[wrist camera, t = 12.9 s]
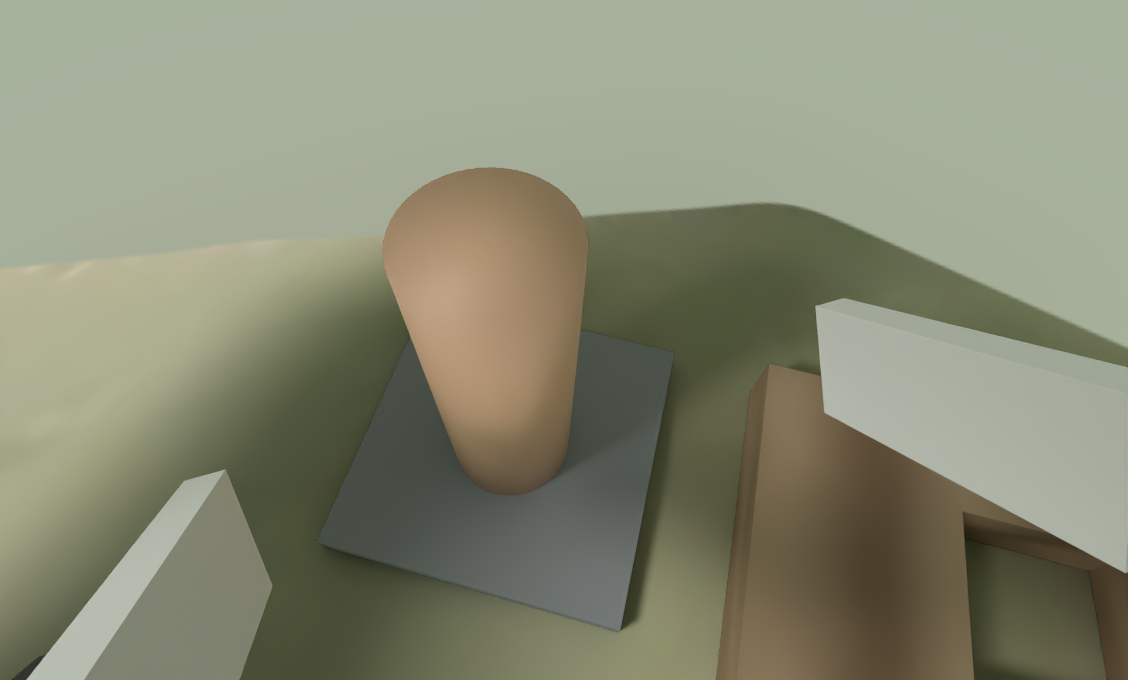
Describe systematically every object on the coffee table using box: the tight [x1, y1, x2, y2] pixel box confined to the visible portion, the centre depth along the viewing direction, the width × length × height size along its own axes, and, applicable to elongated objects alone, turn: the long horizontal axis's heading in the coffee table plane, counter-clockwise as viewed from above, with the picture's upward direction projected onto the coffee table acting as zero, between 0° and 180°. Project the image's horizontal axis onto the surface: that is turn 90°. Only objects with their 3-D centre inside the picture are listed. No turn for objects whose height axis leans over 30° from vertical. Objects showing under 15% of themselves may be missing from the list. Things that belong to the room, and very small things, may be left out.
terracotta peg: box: [382, 168, 589, 496], centre depth 18 cm, size 4×4×12 cm
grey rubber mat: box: [317, 330, 675, 632], centre depth 24 cm, size 11×11×1 cm
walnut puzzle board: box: [716, 364, 1128, 680], centre depth 20 cm, size 20×14×2 cm
